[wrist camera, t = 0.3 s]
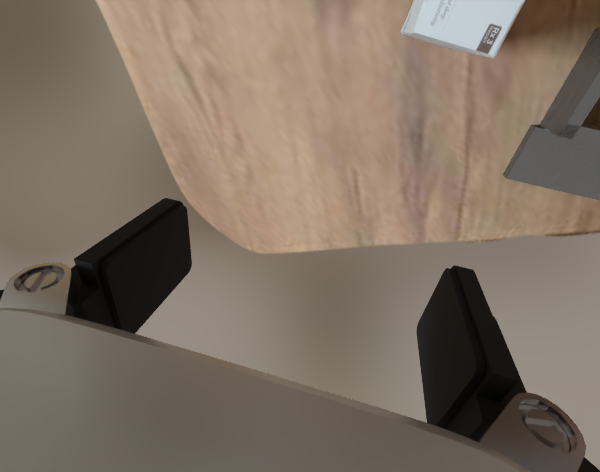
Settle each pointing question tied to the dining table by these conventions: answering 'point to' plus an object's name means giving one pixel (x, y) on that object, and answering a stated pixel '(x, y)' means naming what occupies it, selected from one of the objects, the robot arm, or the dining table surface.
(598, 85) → the fixed leaf
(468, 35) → the skincare box
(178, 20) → the dining table surface
